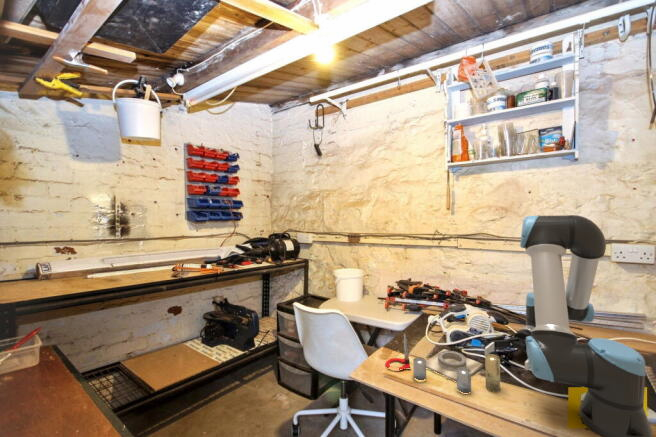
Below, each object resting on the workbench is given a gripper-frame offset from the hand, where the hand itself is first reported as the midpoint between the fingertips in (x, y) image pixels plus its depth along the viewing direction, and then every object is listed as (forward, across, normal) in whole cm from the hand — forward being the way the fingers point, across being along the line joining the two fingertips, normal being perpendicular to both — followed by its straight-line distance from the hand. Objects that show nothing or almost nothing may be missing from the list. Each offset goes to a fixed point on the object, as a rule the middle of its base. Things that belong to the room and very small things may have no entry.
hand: (504, 358), depth 115 cm
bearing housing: (+8, +16, -7) cm, 19 cm away
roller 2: (+18, +6, -6) cm, 20 cm away
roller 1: (+23, +20, -7) cm, 31 cm away
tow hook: (+22, +31, -7) cm, 39 cm away
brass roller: (+10, 0, -7) cm, 12 cm away
